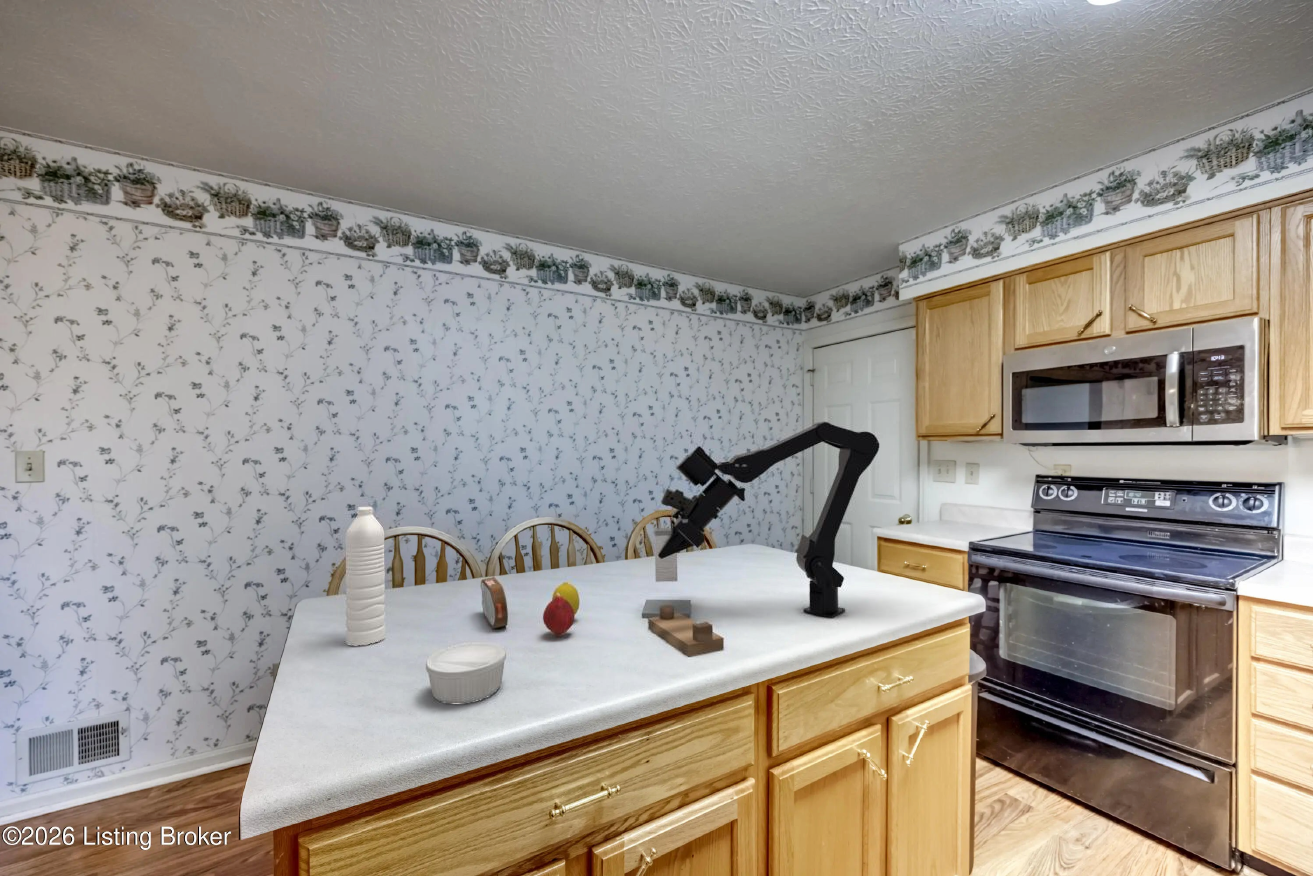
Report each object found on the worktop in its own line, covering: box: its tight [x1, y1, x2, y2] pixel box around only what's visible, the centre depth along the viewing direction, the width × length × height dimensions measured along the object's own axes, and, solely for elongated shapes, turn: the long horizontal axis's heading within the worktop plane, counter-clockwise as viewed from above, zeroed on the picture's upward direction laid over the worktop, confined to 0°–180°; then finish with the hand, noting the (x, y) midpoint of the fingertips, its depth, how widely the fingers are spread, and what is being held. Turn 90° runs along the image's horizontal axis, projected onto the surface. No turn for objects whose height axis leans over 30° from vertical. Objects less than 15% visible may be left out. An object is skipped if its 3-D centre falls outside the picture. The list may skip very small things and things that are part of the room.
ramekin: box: [425, 641, 507, 704], centre depth 82 cm, size 11×11×5 cm
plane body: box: [647, 605, 725, 657], centre depth 102 cm, size 16×7×4 cm, turn 26°
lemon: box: [551, 581, 580, 615], centre depth 113 cm, size 6×6×8 cm
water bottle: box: [344, 506, 386, 646], centre depth 103 cm, size 9×6×25 cm
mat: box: [641, 599, 692, 619], centre depth 119 cm, size 10×10×1 cm
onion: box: [542, 593, 576, 637], centre depth 105 cm, size 6×6×8 cm
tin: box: [480, 576, 509, 629], centre depth 114 cm, size 15×3×8 cm, turn 27°
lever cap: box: [654, 527, 678, 583], centre depth 117 cm, size 4×3×10 cm
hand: (659, 555), depth 117 cm, fingers closed on lever cap, 3 cm apart
